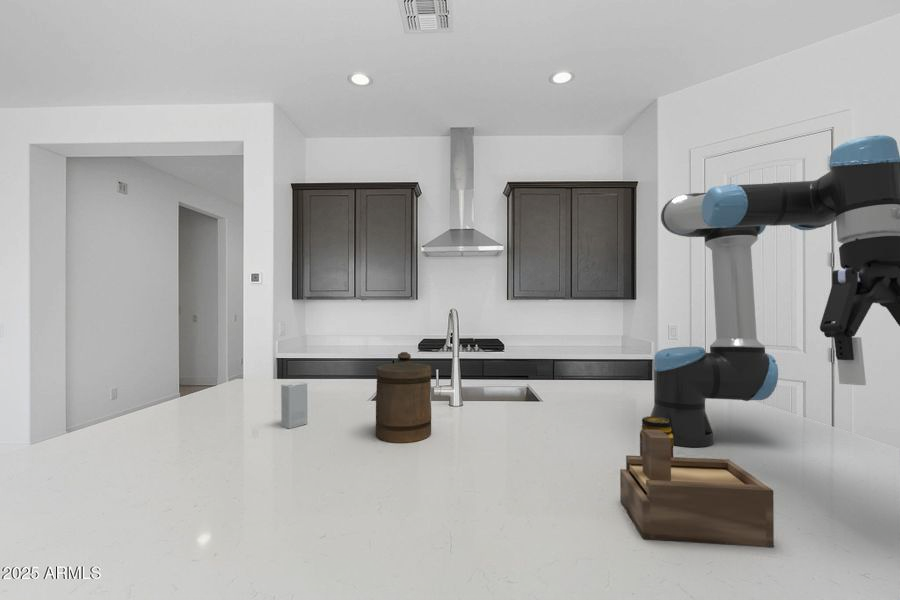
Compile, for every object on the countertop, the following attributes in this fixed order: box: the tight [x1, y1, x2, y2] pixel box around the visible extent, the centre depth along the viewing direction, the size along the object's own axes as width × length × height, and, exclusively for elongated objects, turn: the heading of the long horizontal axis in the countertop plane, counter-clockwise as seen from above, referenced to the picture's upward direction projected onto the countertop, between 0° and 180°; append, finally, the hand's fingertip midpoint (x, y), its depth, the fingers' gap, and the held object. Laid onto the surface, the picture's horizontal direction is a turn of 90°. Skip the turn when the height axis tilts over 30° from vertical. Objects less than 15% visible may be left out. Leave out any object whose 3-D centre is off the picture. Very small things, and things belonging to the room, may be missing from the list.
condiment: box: [639, 415, 674, 457], centre depth 85 cm, size 7×8×12 cm
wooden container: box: [375, 351, 432, 444], centre depth 113 cm, size 15×15×22 cm
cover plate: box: [629, 429, 744, 495], centre depth 68 cm, size 10×15×8 cm, turn 83°
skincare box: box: [280, 381, 308, 429], centre depth 121 cm, size 6×4×12 cm
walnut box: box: [619, 454, 775, 548], centre depth 68 cm, size 12×18×8 cm, turn 83°
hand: (888, 385), depth 60 cm, fingers open, 13 cm apart
